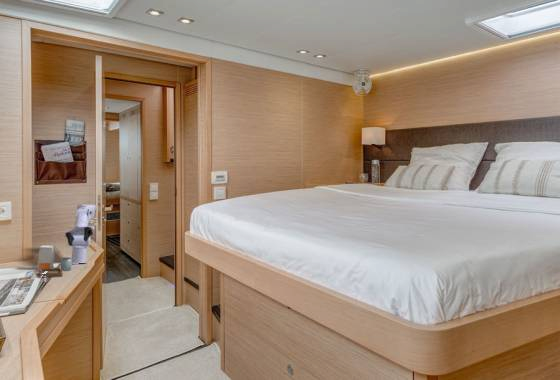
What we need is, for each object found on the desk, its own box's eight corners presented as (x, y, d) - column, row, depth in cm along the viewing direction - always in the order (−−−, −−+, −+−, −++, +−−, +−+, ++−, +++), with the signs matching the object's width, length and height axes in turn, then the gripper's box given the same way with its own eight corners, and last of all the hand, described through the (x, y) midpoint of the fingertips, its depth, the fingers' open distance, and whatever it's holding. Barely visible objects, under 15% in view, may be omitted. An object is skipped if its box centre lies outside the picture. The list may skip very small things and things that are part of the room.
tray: (39, 272, 179) (39, 269, 179) (60, 271, 184) (60, 268, 184) (40, 277, 172) (40, 274, 172) (62, 276, 177) (62, 272, 177)
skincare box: (37, 270, 183) (39, 246, 183) (40, 267, 187) (42, 245, 187) (50, 270, 185) (52, 247, 184) (53, 268, 189) (55, 245, 188)
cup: (59, 268, 189) (60, 257, 189) (70, 268, 192) (71, 257, 191) (60, 271, 185) (61, 259, 185) (71, 270, 188) (72, 259, 187)
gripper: (63, 223, 192) (58, 241, 181) (91, 216, 194) (88, 233, 184) (69, 232, 196) (65, 250, 186) (96, 225, 199) (94, 242, 188)
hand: (77, 242), depth 185 cm, fingers open, 7 cm apart
